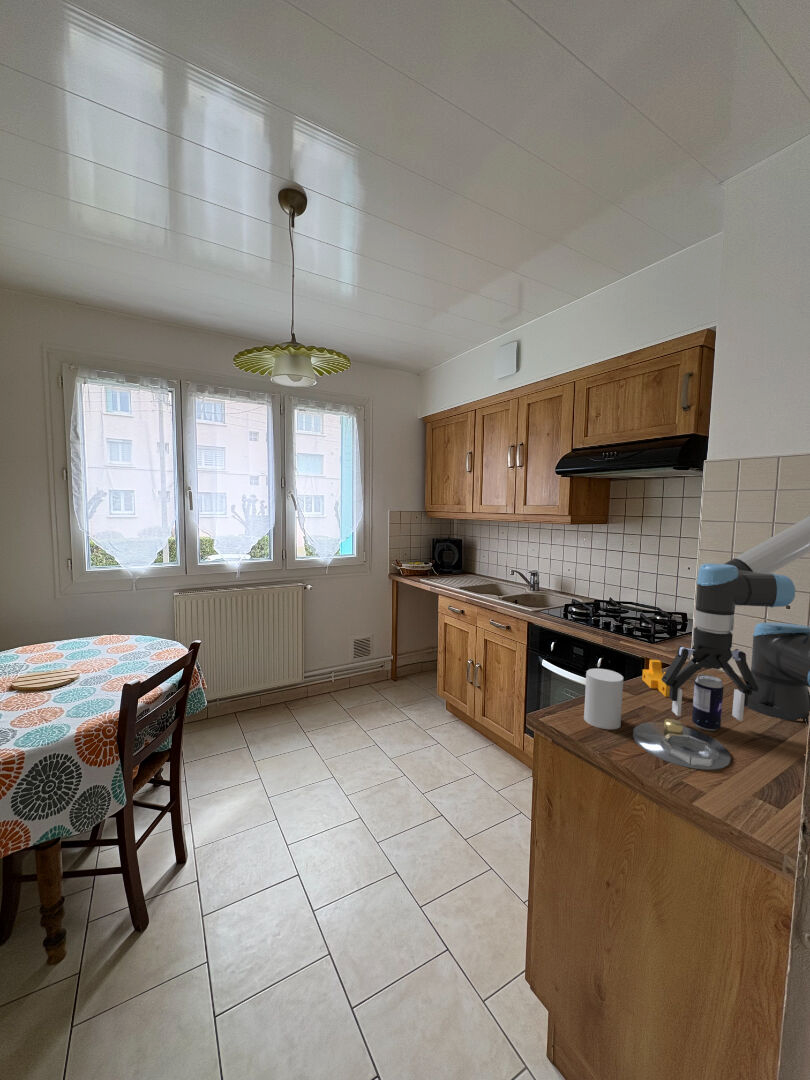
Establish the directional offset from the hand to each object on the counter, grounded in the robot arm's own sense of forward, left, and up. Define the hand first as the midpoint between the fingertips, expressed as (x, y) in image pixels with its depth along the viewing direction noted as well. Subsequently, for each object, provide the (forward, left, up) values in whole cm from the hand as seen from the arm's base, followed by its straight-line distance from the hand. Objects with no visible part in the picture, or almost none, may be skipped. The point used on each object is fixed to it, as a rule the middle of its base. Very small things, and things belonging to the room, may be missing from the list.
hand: (706, 715), depth 105 cm
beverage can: (0, 0, -3) cm, 3 cm away
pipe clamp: (+1, -23, -3) cm, 23 cm away
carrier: (+11, +11, -3) cm, 16 cm away
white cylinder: (+24, +2, -3) cm, 25 cm away
